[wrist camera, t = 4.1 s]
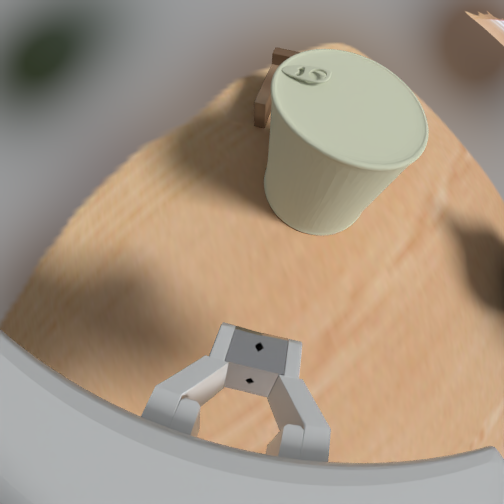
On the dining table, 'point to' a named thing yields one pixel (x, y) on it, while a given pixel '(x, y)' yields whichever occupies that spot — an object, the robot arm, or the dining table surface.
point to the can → (337, 138)
